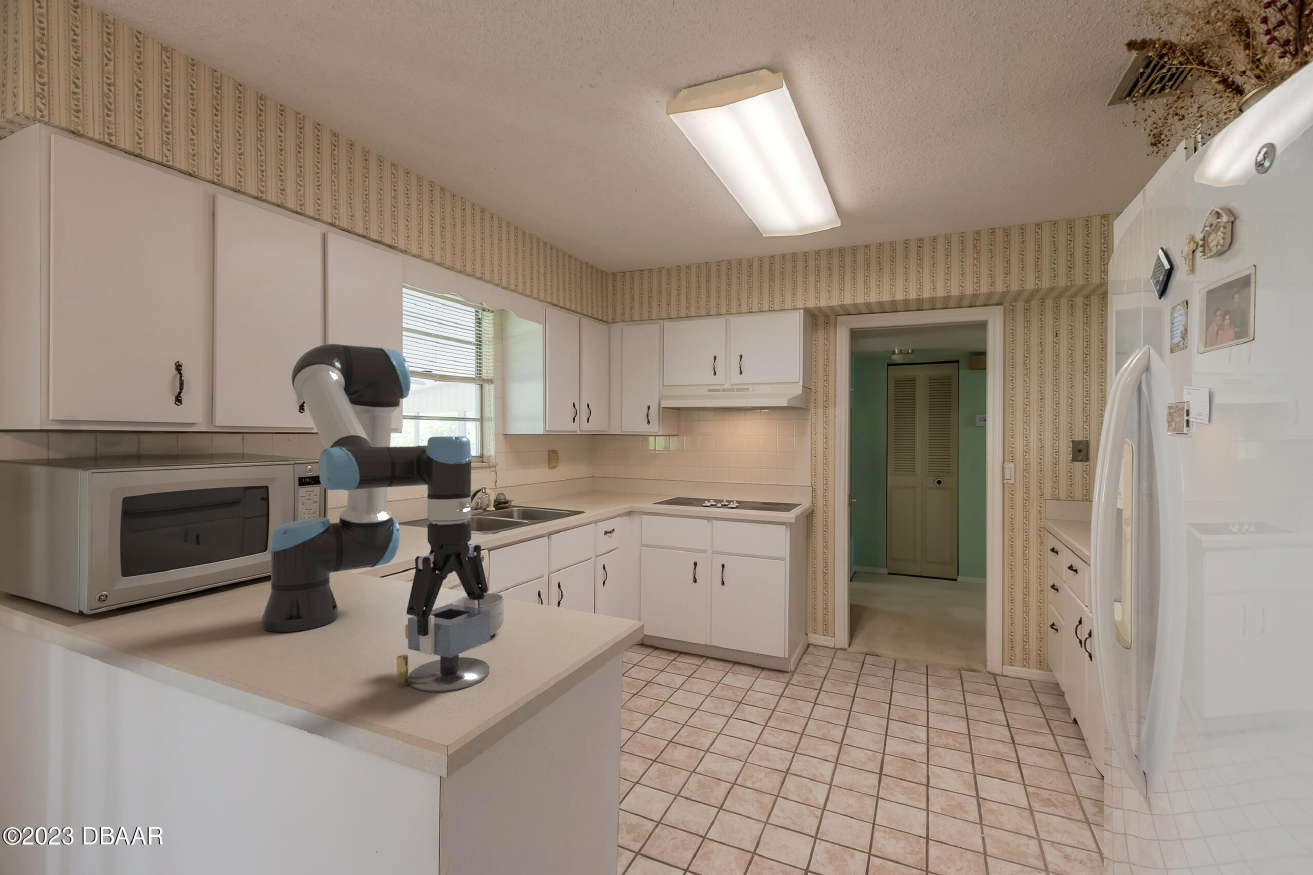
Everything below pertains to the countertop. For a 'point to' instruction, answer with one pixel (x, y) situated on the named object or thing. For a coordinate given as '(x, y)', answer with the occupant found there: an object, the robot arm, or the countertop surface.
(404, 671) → the dowel pin
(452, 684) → the rod on disc base
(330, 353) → the robot arm
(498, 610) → the teacup
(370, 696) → the countertop surface
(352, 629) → the countertop surface
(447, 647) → the grey hollow block
